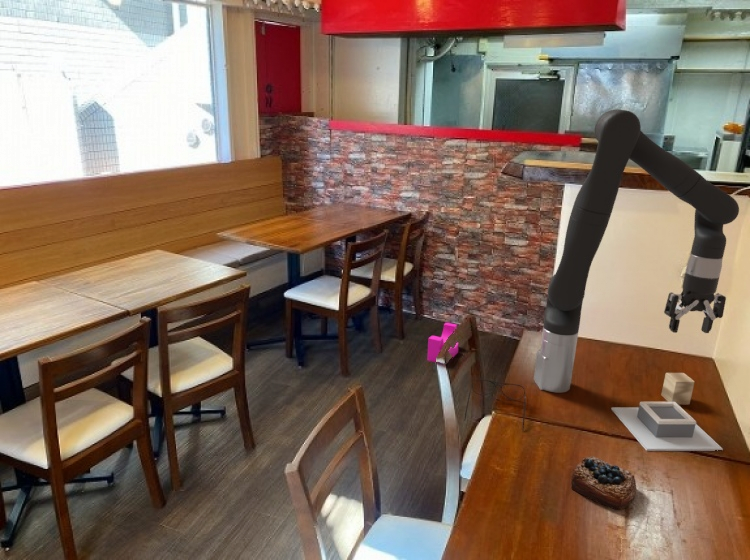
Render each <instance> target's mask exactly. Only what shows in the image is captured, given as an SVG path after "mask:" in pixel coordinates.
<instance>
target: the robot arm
mask: <svg viewBox="0 0 750 560" xmlns="http://www.w3.org/2000/svg"><path fill="white" fill-rule="evenodd" d="M593 128H594V129H593V131H594V136H595V139H596V140H597V146H596V152H595V155H594V159H593V163H592V166H591V168H590V171H589V173H588V174H587V177H586V178H585V180H584V182H583V183H582V186H581V187H580V189H579V191H578V193H577V194H576V197H575V200H574V203H573V205H572V209H571V212H570V216H569V218H568V224H567V227H566V232H565V238H564V245H563V251H562V255H561V259H560V262H559V264H558V267H557V270H556V271H555V273H554V274H553V276H551V278H550V280H549V282H548V288H547V298H546V303H545V304H546V305H545V311H544V318H543V325H542V326H543V327H542V335H541V341H540V342H541V343H540V349H537V352H536V359H535V367H534V368H535V369H534V376H533V381H534V382H535V384H536V386H537V387H538V388H539V390H541V391H547V392H550V393H556V394H557V393H558V394H559V393H566V392H568V391H569V390H570V388H571V383H572V377H573V376H572V375H573V371H574V370H573V369H574V362H575V357H576V350H577V344H578V343H577V342H578V336H579V331H580V329H579V328H580V324H581V317H582V315H581V314H582V309H583V302H584V298H585V292H586V286H587V282H588V278H589V273H590V270H591V266H592V262H593V260H594V258H595V255H596V254H597V252H598V249H599V247H600V246H601V242H602V240H603V238H604V235H605V232H606V230H607V227H608V226H609V222H610V219H611V216H612V213H613V211H614V210H613V209H614V205H615V203H616V201H617V200H616V199H617V196H618V193H619V189H620V185H621V180H622V177H623V174H624V172H625V169H626V166H627V164H628V162H629V160H630V161H632V162H634V163H635V164H636V165H637V166H638V167H640V168H641V169H642V170H644V171H645V172H646V173H647V174H648V175H649V176H651V178H653V179H654V180H655V181H657V182H658V183H659V184H660V185H661V186H663V187H664V189H666V190H667V191H669V192H670V193H671V194H672V195H674V196H675V197H676V198H677V199H679V200H681V201H683V202H685V203H687V204H688V205H690V206H692V207H693V208H694V209H695V211H694V226H693V227H694V229H693V230H694V237H693V241H692V245H691V250H690V255H689V256H688V260H687V263H686V268H685V272H684V277H683V281H682V291H681V292H680V293H674V292H669V293H668V297H667V300H666V303H665V306H664V311H663V313H664V315H666V316H668V317H670V319H669V320H670V321H669V323H668V329H669V330H670V332H672V333H678V330H679V326H680V322H681V320H680V319H681V318H682V317H683V316H684V315H687V314H688V313H689V312H703V315H704V317H703V322H702V325H701V329H700V330H701V332H703V333H704V334H709V333H710V332H711V330H712V328H713V324H714V320H716V319H718V318H719V319H722V318H723V317H724V312H725V306H726V300H727V297H726V295H723V294H721V293H719V292H717V289H718V284H719V281H720V276H721V271H722V269H723V268H722V267H723V258H724V254H725V250H726V246H727V236H726V235H725V233H724V225H728V224H730V223H732V222H733V221H735V220H736V219H737V217H738V215H739V213H740V206H739V203H738V202H737V200H736V199H735V198H734V197H733V196H731V195H730V194H729V193H727V192H726V191H724V190H723V189H721V188H720V187H718V186H716V185H715V184H712V183H711V182H710V181H708V180H707V179H706V178H705V177H704V176H703V175H701V174H700V173H699V172H698V171H697V170H695V169H694V168H693V167H691V166H690V165H689V164H688V163H686V162H685V161H683V160H682V159H681V158H679V157H677V156H676V155H674V154H673V153H671V152H669V151H668V150H666V149H664V148H663V147H661V146H660V145H658V144H657V143H655V142H654V141H653V140H652V139H651V138H649V137H648V136H647V135H646V134H645V133H644V132H643V131H642V130H641V129H642V128H641V122H640V119H639V117H638V116H637V115H636V114H635V113H634V112H633V111H630V110H627V109H620V108H619V109H618V108H617V109H611V110H608V111H605V112H604V113H602V114H601V115H600V116H599V117H598V118H597V120H596V122H595V124H594V127H593ZM716 292H717V293H716ZM712 303H713V306H712V307H713V308H712V307H711V305H712Z"/></svg>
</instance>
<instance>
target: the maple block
mask: <svg viewBox="0 0 750 560" xmlns="http://www.w3.org/2000/svg"><path fill="white" fill-rule="evenodd" d="M694 386H695V380H693V379H692V378H691V377H689V376H688V375H687V374H686V373H684V372H665V375H664V379H663V386H662V388H661V389H662V390H661V393H660V395H661V396H662V398H664V399H665V401H666V402H676V403H677V404H678V405H679V406H681V405H683V406H684V405H690V403H691V400H692V399H691V398H692V395H693V390H694Z"/></svg>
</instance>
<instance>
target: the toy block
mask: <svg viewBox="0 0 750 560" xmlns="http://www.w3.org/2000/svg"><path fill="white" fill-rule="evenodd" d="M457 328H458V324H456V323H451V322H445V323H444V324H443V330H442V333H441V336H436V335H431V336H430V337H428V341H427V358H426V360H427V361H428V362H433V363H436V357H437V356H438V354H439V352H440V351H441V349H442V347H443V345H444V343H445V342H446V340H447V339H448V337H449V336H450V335H451V334H452V333H453V331H455V329H457ZM457 330H458V329H457ZM454 333H455V332H454ZM454 333H453V334H454ZM456 342H457V341H456ZM448 351H449V353H450V354H451V355H452V357H453V358H454V357H455V356H456V355H457V354H458V353H459V342H457V343H456V345H455V347H454V348H452V347H450V349H449V350H448Z"/></svg>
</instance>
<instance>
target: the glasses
mask: <svg viewBox="0 0 750 560" xmlns="http://www.w3.org/2000/svg"><path fill="white" fill-rule="evenodd" d="M475 381H486V382H488V383H489V382H490V383H492V384H493V385H494V388H493V390H492V391H490V392H489V393H484V394H481V393H478V392H476V391H475V390H474V387H473V385H474V382H475ZM495 383H497V384H498V386H500V391H501V394H503V396H504V397H506V398H507V399H509V400H511V401H514V399H513V398H510V397H509V396H507V395H506V394H505V393H504V392H503V390H502V388H503V386H505V385H508V386H509V385H511V386H512V385H513V386H517V387H521V388H522V389H523V395H522V396H521V398H519V399H517V401H521V399H523V416H522V429H521V430H522V432H523V431H524V429H525V428H524V427H525V414H526V411H525V410H526V391H525V390H526V389H525V388H524V387H523V386H522V385H519V384H516V383H507V382H506V383H505V382H498V381H493V380H487V379H484V378H483V379H482V378H476V379H474V380H473V381H472V382H471V385H470V389H469V393H468V397H467V402H466V403H467V404H466V407H465V413H464V421H466V419H467V414H468V407H469V402H470V396H471V392H472V390H473V392H474V393H475V394H477V395H479V396H487V395H491V394H492V393H493V392H494V391H495V389H496V387H497V384H495ZM501 384H502V385H501Z"/></svg>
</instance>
